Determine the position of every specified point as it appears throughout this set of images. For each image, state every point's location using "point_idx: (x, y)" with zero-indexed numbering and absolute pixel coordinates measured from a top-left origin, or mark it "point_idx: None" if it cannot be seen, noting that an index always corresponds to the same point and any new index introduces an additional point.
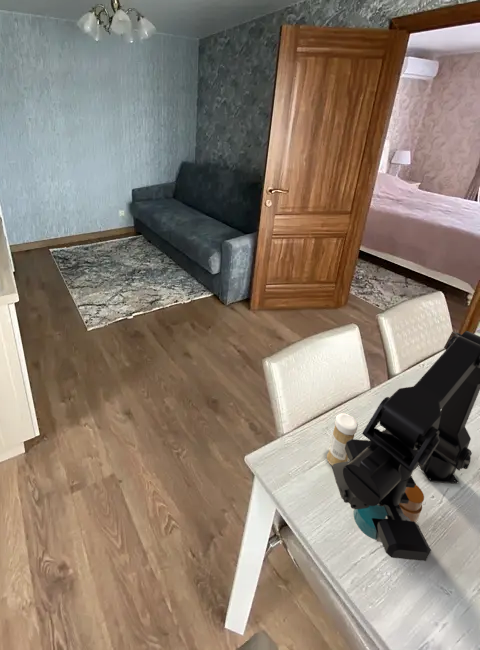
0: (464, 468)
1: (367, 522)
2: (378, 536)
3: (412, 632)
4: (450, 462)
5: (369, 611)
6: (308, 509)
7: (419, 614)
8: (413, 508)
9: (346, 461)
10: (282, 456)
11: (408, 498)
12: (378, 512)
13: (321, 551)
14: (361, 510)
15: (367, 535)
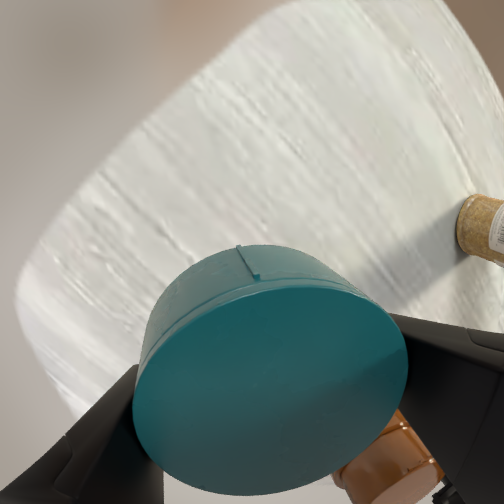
0: (433, 499)
1: (160, 365)
2: (89, 414)
3: (53, 356)
4: (449, 487)
5: (45, 256)
6: (311, 82)
7: (101, 383)
8: (348, 489)
9: (481, 253)
10: (451, 47)
11: (379, 500)
12: (284, 441)
13: (167, 110)
14: (269, 328)
15: (149, 318)
